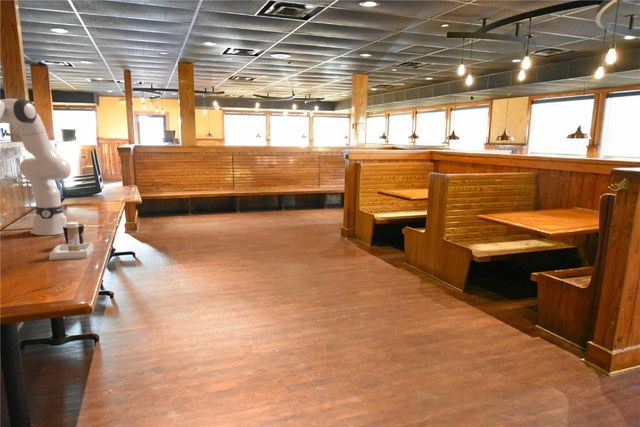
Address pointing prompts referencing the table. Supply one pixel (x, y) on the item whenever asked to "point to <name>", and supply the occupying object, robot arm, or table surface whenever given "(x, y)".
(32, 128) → the robot arm
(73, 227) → the sprinkles bottle
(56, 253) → the tray
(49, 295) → the table surface
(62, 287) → the table surface
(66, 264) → the table surface
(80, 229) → the coffee mug
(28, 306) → the table surface
